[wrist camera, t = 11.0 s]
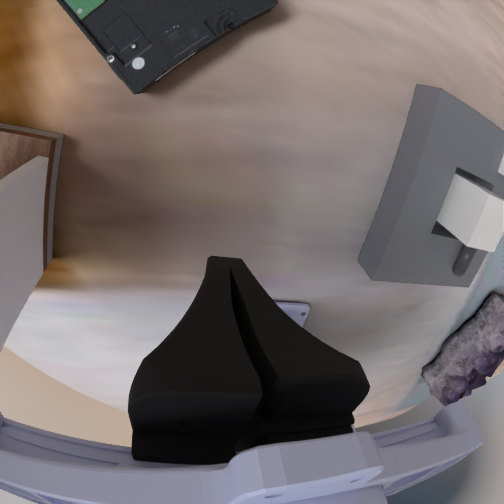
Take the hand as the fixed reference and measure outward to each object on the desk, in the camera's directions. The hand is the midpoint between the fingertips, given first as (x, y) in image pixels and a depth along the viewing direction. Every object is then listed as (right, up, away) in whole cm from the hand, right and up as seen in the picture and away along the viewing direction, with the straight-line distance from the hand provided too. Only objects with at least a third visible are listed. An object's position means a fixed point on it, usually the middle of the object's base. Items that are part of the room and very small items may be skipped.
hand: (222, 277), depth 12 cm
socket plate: (+19, +6, +11) cm, 23 cm away
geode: (+35, -12, +26) cm, 45 cm away
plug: (+19, +5, +12) cm, 23 cm away
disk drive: (-6, +19, 0) cm, 20 cm away
